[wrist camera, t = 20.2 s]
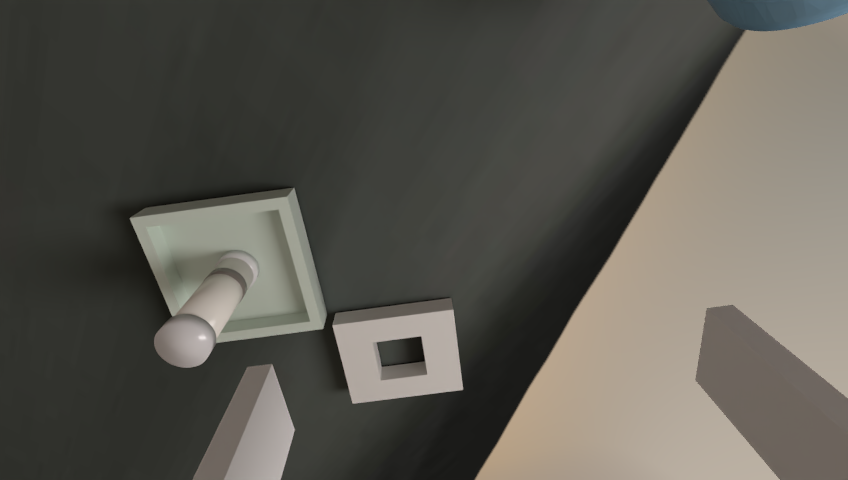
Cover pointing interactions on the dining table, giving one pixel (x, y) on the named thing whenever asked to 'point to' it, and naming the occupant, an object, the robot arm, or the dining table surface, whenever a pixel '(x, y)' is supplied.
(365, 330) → the socket block
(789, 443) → the robot arm
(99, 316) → the dining table surface
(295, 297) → the parts tray
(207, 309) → the fuse
